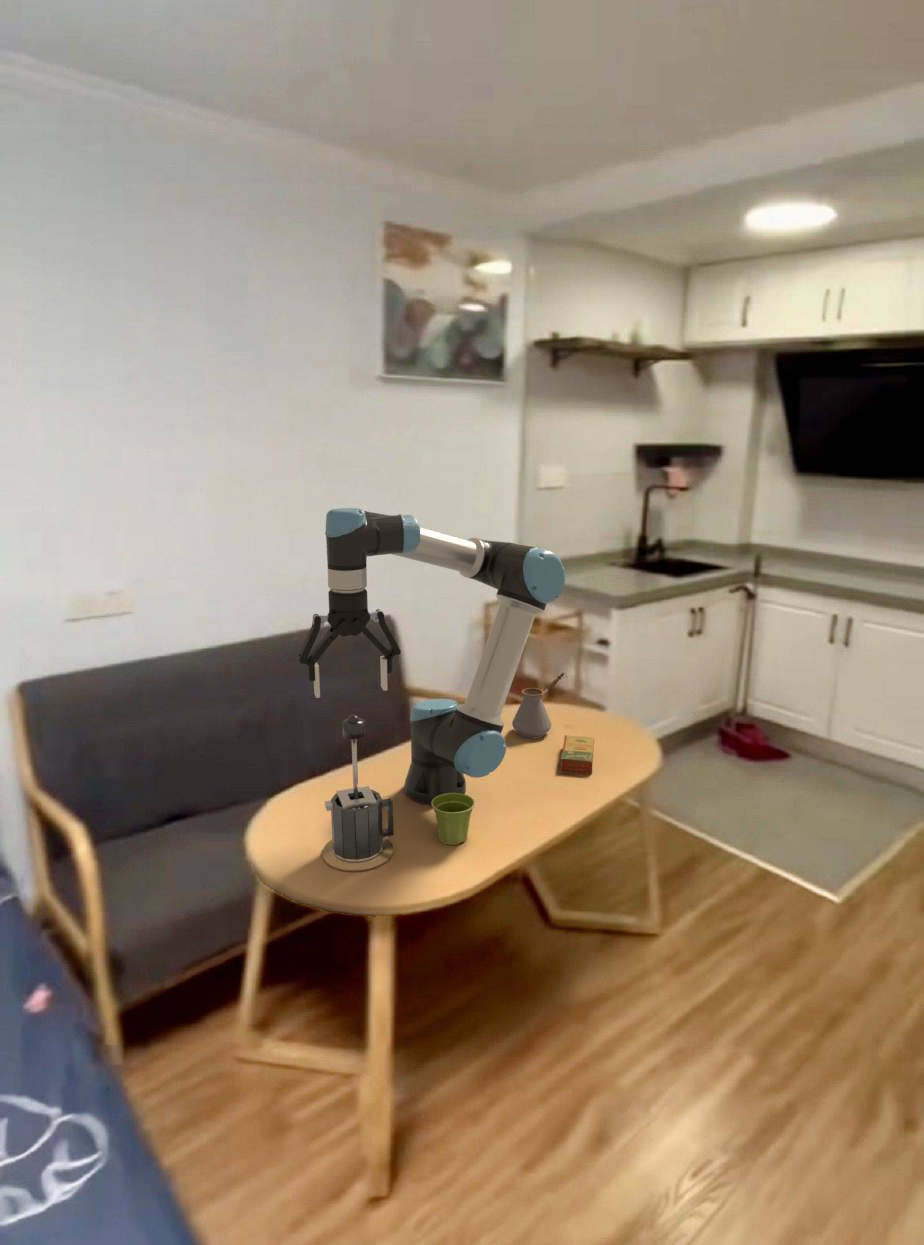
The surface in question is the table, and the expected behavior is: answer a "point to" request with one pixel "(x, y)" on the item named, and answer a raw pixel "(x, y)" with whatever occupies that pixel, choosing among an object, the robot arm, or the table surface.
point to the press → (359, 831)
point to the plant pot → (453, 816)
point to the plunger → (354, 746)
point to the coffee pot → (533, 713)
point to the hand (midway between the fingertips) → (351, 692)
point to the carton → (577, 755)
